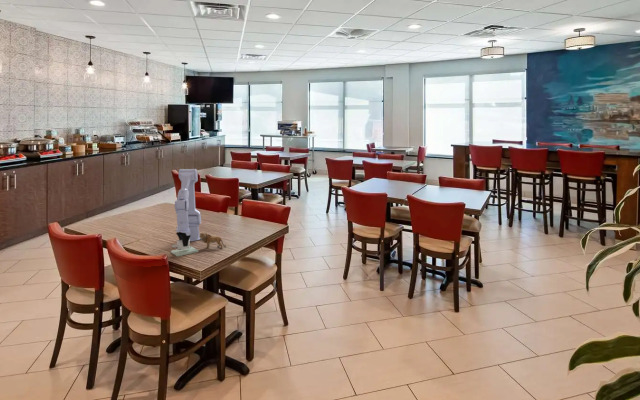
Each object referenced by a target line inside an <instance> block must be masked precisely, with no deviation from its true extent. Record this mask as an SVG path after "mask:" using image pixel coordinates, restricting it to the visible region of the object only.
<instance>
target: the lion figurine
mask: <svg viewBox="0 0 640 400" xmlns="http://www.w3.org/2000/svg"><path fill="white" fill-rule="evenodd" d="M199 237H200V239H201V240H200V241H202V242H203V243H204V244H206V249H209V248H210V244H214V243H216V244H217V247H218V248H219V249H223V247H227V246H226V245H225V244H224V243H223V240H222V238H221V237H220V236H219V235H218V236H217V235H216V236H212V235H211V234H209V233H206V232H201V233H199Z"/></svg>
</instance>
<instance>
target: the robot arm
mask: <svg viewBox="0 0 640 400" xmlns="http://www.w3.org/2000/svg"><path fill="white" fill-rule="evenodd" d="M198 177H199V176H198V170H197V169H196V168H190V169H189V168H186V169H183V168H180V169H179V170H178V179H179V180H180V183H181V184H180V185H181V186H180V189H179V190H178V193H177V198H176V200H175V201H174V210H175V215H176V224H177V225H176V229H175V234H176V236H177V237H178V240H182V242H183V246H184V247H185V246H188V242H189V239H190V242H194V241H202V240H201V239H200V225H201V224H202V215H201V212H200V211H199V210H198V209H197V208H196V194H195V193H196V191H195V184H196V183H197V182H198V181H199V179H198Z"/></svg>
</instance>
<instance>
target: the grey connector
mask: <svg viewBox="0 0 640 400" xmlns="http://www.w3.org/2000/svg"><path fill="white" fill-rule="evenodd" d="M171 247H172V248H176V250H184V249H189V248H190V247H191V243H190V239H189V242H188V246H185V247H184V246H183V242H182V240H179V239H178V240H177V239H176V244H172V245H171Z"/></svg>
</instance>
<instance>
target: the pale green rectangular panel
mask: <svg viewBox="0 0 640 400" xmlns="http://www.w3.org/2000/svg"><path fill="white" fill-rule="evenodd" d="M199 252H200V251H199V249H197V248H195V247H193V246H192V245H190V248H189V249H184V250H177V249H173V250H170V253H171V254H173V255H174V256H176V257H177V258H178V257H181V256H187V255H190V254H195V253H199Z"/></svg>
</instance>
